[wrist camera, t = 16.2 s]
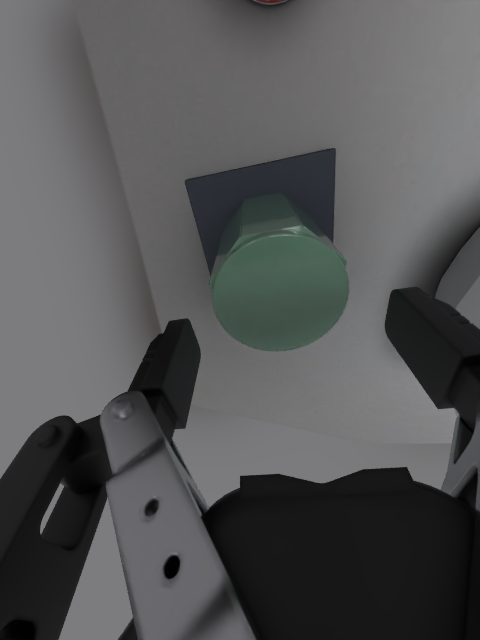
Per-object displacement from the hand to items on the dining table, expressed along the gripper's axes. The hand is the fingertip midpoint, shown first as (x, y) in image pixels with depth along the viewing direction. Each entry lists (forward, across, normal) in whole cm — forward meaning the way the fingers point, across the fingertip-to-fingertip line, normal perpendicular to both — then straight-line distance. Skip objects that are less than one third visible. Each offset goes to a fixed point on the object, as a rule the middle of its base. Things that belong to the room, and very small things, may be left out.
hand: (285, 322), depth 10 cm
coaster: (+11, 0, 0) cm, 11 cm away
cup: (+11, 0, 0) cm, 11 cm away
